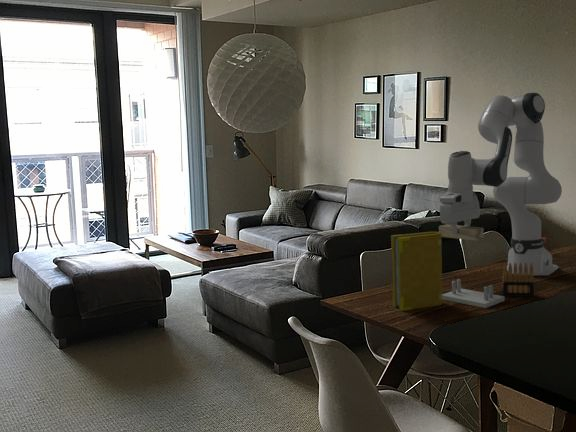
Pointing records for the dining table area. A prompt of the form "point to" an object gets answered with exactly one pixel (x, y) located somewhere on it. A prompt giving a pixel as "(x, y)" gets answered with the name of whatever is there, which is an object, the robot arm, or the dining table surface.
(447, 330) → the dining table surface
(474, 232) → the tan bar
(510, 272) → the ammunition clip
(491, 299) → the peg stand
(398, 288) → the book
